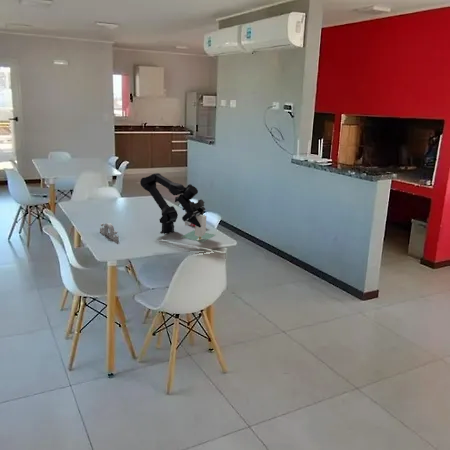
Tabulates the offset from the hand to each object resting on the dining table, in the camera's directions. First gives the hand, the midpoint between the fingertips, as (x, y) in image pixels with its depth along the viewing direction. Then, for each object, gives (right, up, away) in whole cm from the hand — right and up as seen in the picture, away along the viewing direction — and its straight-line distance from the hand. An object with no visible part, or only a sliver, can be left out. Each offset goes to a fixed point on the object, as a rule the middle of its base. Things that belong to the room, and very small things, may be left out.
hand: (202, 225), depth 261 cm
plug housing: (-2, -5, +2) cm, 6 cm away
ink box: (-8, 0, +32) cm, 33 cm away
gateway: (-53, -7, -1) cm, 54 cm away
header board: (-3, -7, +8) cm, 11 cm away
